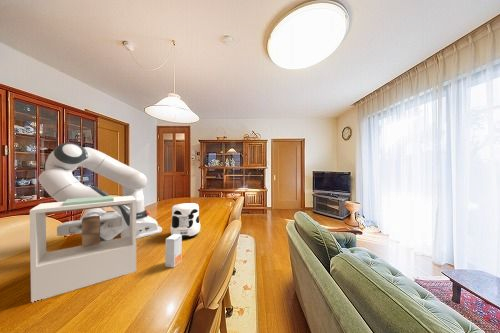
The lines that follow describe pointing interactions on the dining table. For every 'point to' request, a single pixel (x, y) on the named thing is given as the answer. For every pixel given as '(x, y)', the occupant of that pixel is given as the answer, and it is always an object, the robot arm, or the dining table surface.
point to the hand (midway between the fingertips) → (91, 230)
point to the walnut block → (90, 231)
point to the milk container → (185, 220)
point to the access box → (78, 251)
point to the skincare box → (173, 250)
